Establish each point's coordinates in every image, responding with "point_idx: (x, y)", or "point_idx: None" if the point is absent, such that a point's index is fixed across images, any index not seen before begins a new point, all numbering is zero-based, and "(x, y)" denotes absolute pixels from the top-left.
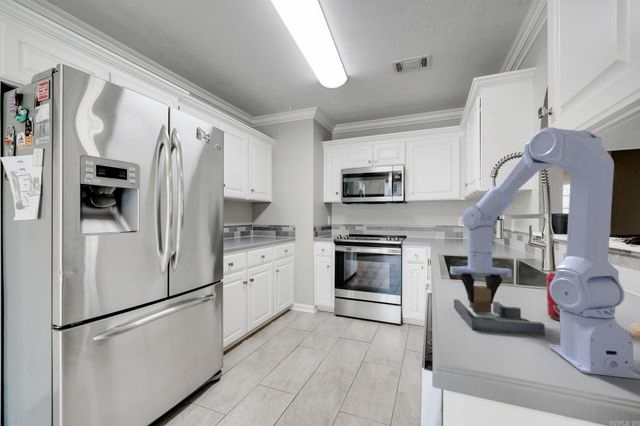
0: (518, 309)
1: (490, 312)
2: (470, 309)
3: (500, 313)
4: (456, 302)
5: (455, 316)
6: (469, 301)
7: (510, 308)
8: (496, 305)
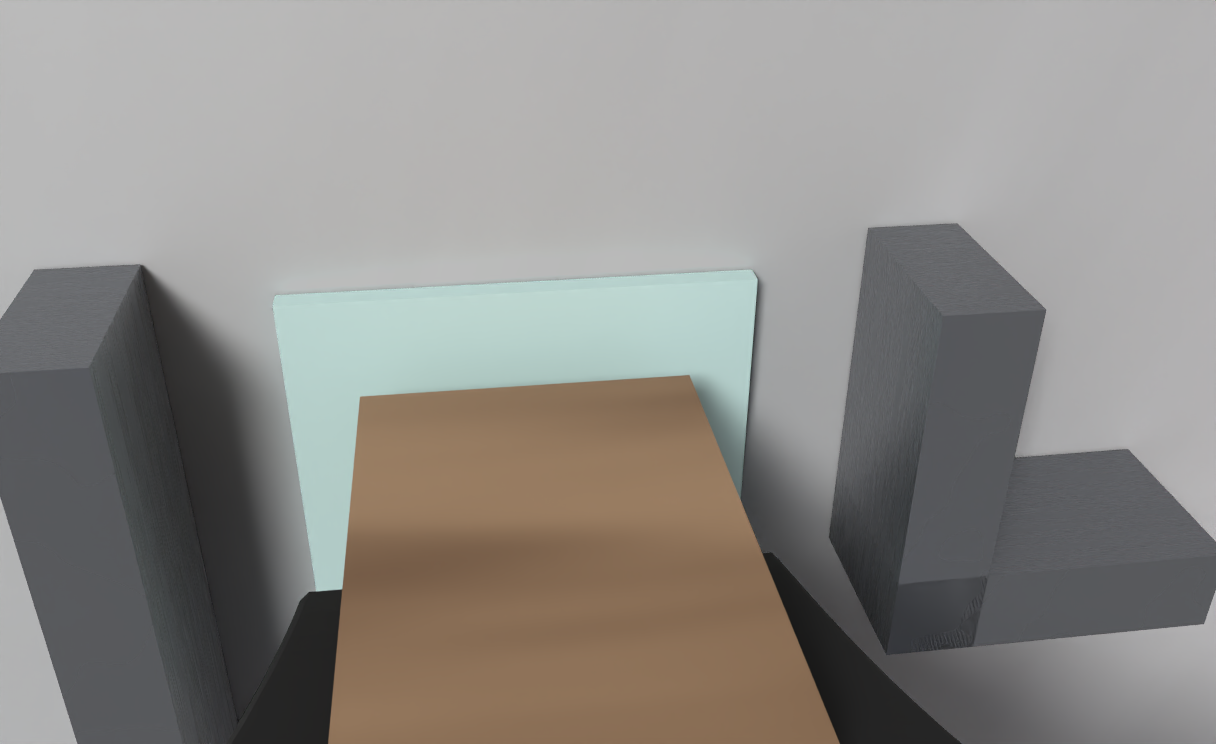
0: (1161, 618)
1: (729, 431)
2: (383, 358)
3: (849, 546)
4: (28, 565)
5: (47, 704)
6: (353, 467)
7: (1038, 637)
8: (905, 455)
